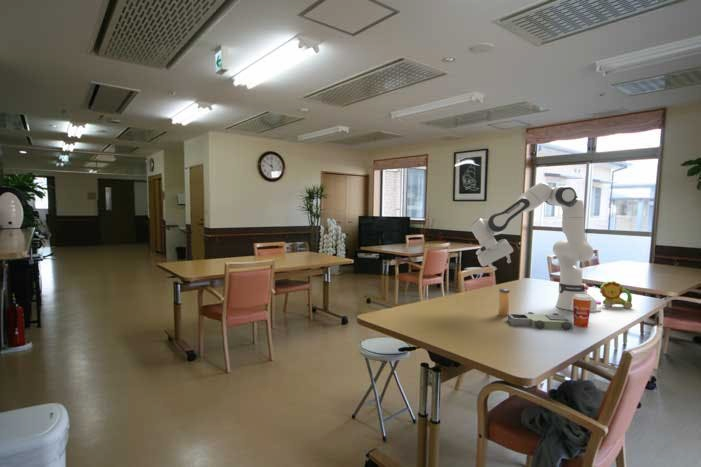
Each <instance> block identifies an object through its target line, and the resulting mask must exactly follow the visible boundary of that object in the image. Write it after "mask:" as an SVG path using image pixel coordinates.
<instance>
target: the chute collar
mask: <svg viewBox="0 0 701 467" xmlns="http://www.w3.org/2000/svg"><path fill="white" fill-rule="evenodd" d="M507 321H508V322H509V324H510V323H511V324H512V325H511V324H510V325H511V326H513V325H516V326H518V327H531V324H532V319H531V318H530V317H529V316H528V315H526V314H525V313H524V314H523V313H522V314H521V313H509V314H508V316H507ZM516 326H515V327H516Z"/></svg>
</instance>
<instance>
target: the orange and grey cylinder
mask: <svg viewBox="0 0 701 467" xmlns="http://www.w3.org/2000/svg"><path fill="white" fill-rule="evenodd" d="M498 292H499V294H498V316H500V317H508V314H510V312H509V309H510V292H511V290H510V289H508V288H498Z"/></svg>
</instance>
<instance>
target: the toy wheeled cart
mask: <svg viewBox="0 0 701 467" xmlns="http://www.w3.org/2000/svg"><path fill="white" fill-rule="evenodd" d="M524 314H526V315H528V316H529V317H530V318H531V319H532V324H531V326H530V327H531V328H533V329H538V330H542V329H546V330H547V329H549V330H550V329H552V330H564V331H567V330H568V331H573V330H574V321H571V320H570V319H568V318H567V317H566V316H565V315H561V314H558V313H556V312H554V313H552V314H544V313H543V314H542V313H534V312H532V311H528V312H527V313H524Z"/></svg>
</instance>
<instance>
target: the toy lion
mask: <svg viewBox="0 0 701 467" xmlns="http://www.w3.org/2000/svg"><path fill="white" fill-rule="evenodd" d="M599 292H600V294H601V296H602V297H603V298H605V299H603V301H602V304H603V305H604V306H606V307H607V308H611V307H612V306H614V305H621V306H622V307H624V308H626V309H631V308H632V307H633V304H632V301H633V300H632V299H633V298H632V297H633V296H632V293H630V291H628V290H627V289H625V288H624V287H623V286H622V285H621V284H620V283H619V282H616V281H614V280H612V281H606V282H602V285H600V290H599ZM622 294H626V295H627V298H626V300H625V299H624V298H622V297H620V296H621V295H622Z"/></svg>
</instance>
